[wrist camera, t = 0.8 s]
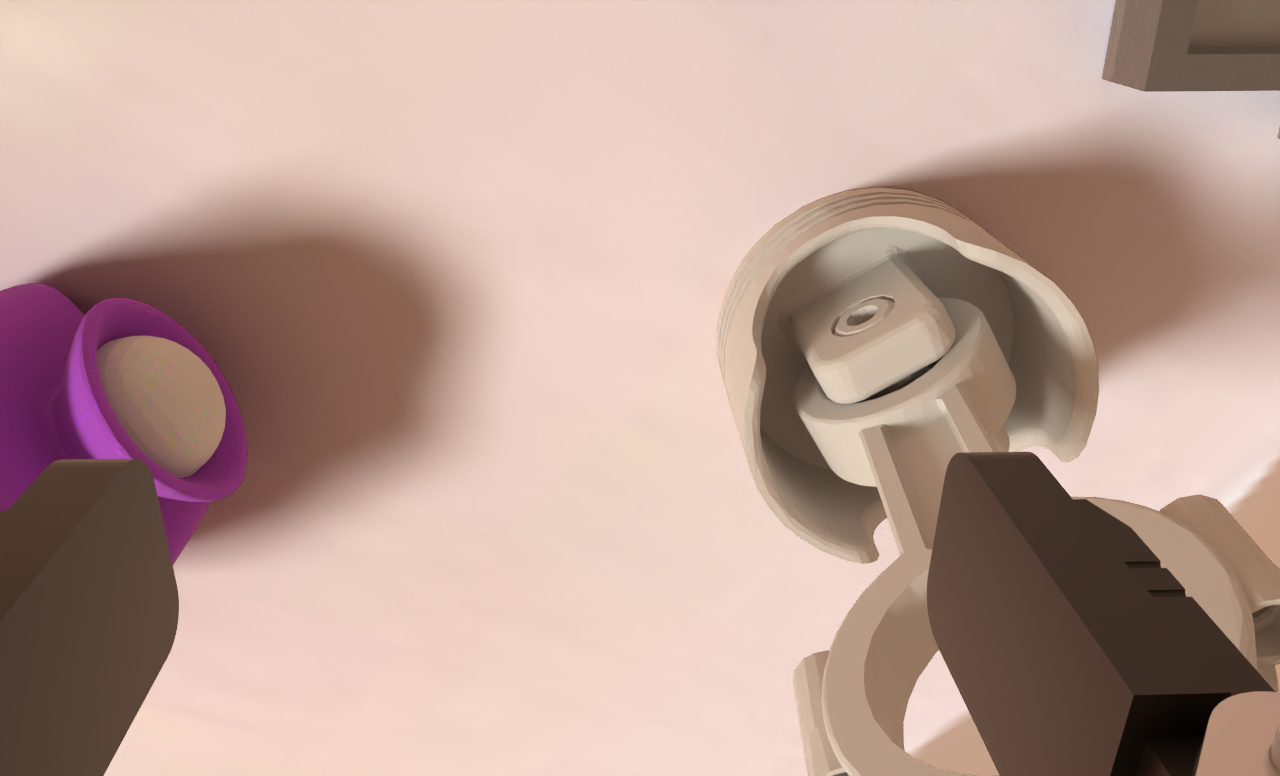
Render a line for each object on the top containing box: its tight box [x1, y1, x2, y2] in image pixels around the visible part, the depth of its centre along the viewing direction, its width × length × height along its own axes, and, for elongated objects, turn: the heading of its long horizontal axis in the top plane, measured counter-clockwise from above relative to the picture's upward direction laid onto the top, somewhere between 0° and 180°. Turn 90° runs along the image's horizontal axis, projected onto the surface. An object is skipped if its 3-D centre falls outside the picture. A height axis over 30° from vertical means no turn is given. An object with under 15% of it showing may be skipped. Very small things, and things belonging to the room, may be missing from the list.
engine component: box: [717, 187, 1280, 776], centre depth 25 cm, size 11×20×10 cm
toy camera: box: [0, 284, 247, 566], centre depth 30 cm, size 11×14×10 cm
